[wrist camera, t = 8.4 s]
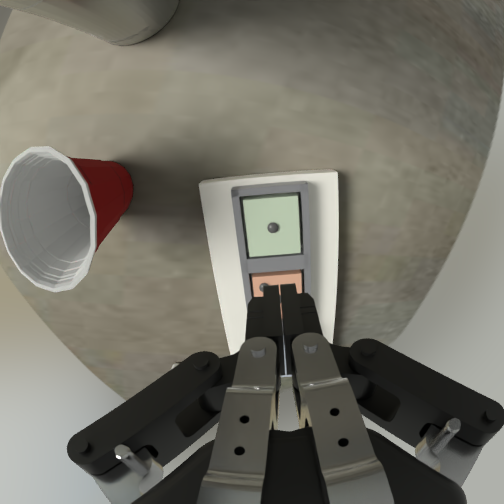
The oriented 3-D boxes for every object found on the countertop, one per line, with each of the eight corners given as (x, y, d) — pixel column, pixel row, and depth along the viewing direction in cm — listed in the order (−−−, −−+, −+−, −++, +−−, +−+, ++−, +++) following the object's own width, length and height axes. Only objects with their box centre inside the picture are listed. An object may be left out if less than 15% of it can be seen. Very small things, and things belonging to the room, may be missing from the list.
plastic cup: (170, 149, 24) (104, 166, 13) (145, 248, 28) (89, 314, 17) (82, 126, 23) (-1, 136, 12) (67, 217, 27) (-2, 262, 16)
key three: (252, 269, 26) (251, 278, 25) (299, 265, 26) (301, 274, 24) (257, 312, 28) (257, 322, 27) (300, 308, 28) (302, 318, 26)
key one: (244, 196, 23) (242, 200, 22) (295, 191, 23) (298, 196, 22) (250, 249, 25) (249, 257, 24) (298, 246, 25) (300, 253, 24)
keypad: (203, 180, 25) (194, 187, 22) (332, 169, 24) (342, 174, 21) (234, 355, 34) (232, 375, 31) (328, 348, 33) (332, 368, 30)
